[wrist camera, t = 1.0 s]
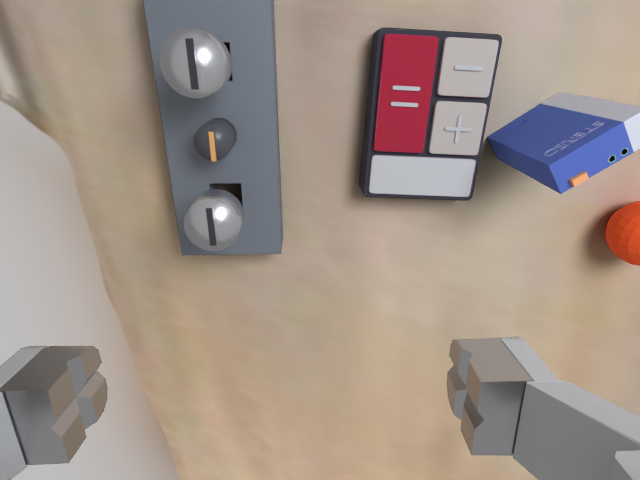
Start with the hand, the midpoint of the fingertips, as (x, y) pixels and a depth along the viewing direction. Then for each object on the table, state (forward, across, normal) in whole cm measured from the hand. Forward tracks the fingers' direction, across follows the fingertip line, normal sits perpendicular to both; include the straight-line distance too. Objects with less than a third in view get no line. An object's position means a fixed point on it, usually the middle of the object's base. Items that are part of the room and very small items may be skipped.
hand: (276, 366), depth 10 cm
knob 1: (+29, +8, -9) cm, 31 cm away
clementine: (+36, -35, +8) cm, 51 cm away
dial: (+30, +8, -3) cm, 31 cm away
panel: (+34, +8, -3) cm, 35 cm away
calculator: (+35, -11, -4) cm, 37 cm away
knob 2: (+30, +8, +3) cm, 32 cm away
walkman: (+35, -22, -3) cm, 42 cm away
